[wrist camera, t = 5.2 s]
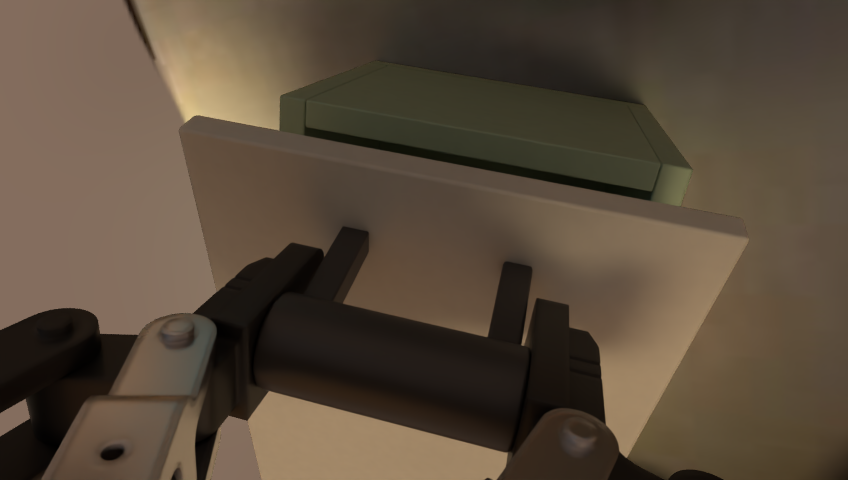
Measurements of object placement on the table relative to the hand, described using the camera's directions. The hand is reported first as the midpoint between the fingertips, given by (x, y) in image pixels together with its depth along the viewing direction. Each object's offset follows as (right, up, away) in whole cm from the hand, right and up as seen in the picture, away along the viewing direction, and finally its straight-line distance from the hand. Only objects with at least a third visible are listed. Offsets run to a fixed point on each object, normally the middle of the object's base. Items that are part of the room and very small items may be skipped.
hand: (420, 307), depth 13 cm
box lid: (0, -3, +5) cm, 6 cm away
